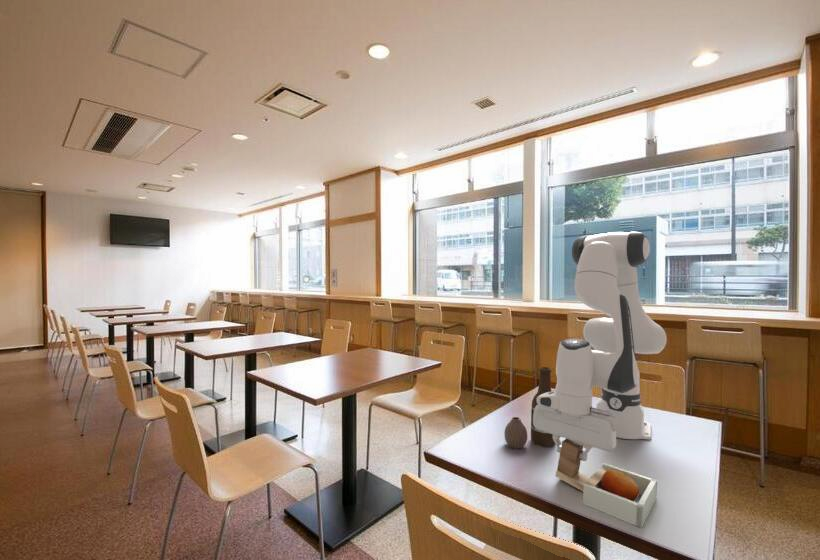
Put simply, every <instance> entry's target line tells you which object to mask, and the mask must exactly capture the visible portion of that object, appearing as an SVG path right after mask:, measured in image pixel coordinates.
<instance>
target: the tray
mask: <svg viewBox="0 0 820 560" xmlns="http://www.w3.org/2000/svg"><path fill="white" fill-rule="evenodd" d="M601 466H602V467H601V468H602V469H604V470H617V471H619V472H621V473H623V474H625V475H626V476H628V477H630V478H631V479H632V480H633V481H634V482H635V483H636V484H637V486H638V489H639V495H640V496H641V497H640V498H639V501H638V502H636V501H635V500H634V501H631V500H628V499H626V498H623V497H620V496H618V495H615V494H612V493H610V492H607V491H604V490H602V489H599V488H596V487H594V486H591V485H588V484H586V483H585V484H584V489H583V491H582V492H583V495H582V504H583V505H585V506H587V507H589V508H592V509H595V510H597V511H599V512H602V513H603V514H607V515H609V516H611V517H614V518H617V519H618V520H621V521H624V522H626V523H628V524H631V525H633V526H636V527H638V528H643V525H644V523H645V521H646V520H647V519H648V516H649V514H650V513H651V510H652V508H653V507H654V504H655V502H656V501H657V491H658V490H657V488H658V480H657V479H654V478H651V477H648V476H645V475H641V474H639V473H636V472H632V471H630V470H627V469H624V468H622V467H617V466H614V465H612V464H609V463H606V462H603V463H602V465H601ZM639 495H638V496H639Z"/></svg>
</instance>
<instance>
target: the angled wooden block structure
mask: <svg viewBox="0 0 820 560" xmlns="http://www.w3.org/2000/svg"><path fill="white" fill-rule="evenodd" d="M561 443H562V445H561V451H560V453H559V456H558V457H559V458H558V462H557V468H556V470H555V477H556V478H557V479H559V480H561V481H563V482H565V483H567V484H569V485H570V486H572V487H573V488H575V489H578V490H579V491H582V492H583V489H584V484H585V483H586V484H588V485H591V486H594V487H596V488H599V489H602V487H601V479H602V476H603V474H604V473H605V472H606V470H604V469H602V467H599V468H598V469H597V470H596V471H595V472H594V473H593V474H592V475H591V476H588V475H585V474H583V473H582V472H581V471H580V467H581V461H582V460H580V459H579V457H580V456H579V453H580V452H581V451H584V444H582V443H579V442H576V441H573V440H569V439H566V438H564V439H563V440H562V441H561Z"/></svg>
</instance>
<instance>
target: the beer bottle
mask: <svg viewBox="0 0 820 560" xmlns="http://www.w3.org/2000/svg"><path fill="white" fill-rule="evenodd" d="M538 371H539V379H538V388H537V392H536V393H535V395H534V396H533V398H532V400H531V411H530V412H531V413H530V414H531V416H530V440H531V442H532V443H533V442H534V443H533V444H534V445H536V444H537V446H539V445H540V446H539V447H542V446H543V447H542V448H553V446H556V444H555V442H554V440H553V434H550V433H547V432H544V431H541V430H537V429H535V427H534V425H533V414H534V409H535V407H536V405H538V404H537V397H538V396H540V395H541V394H544V393H546V392H552V378H551V376H552V375H551V373H552V368H550V367H547V366H542V367H539V369H538Z"/></svg>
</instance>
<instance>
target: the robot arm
mask: <svg viewBox="0 0 820 560" xmlns="http://www.w3.org/2000/svg"><path fill="white" fill-rule="evenodd" d="M650 246H651V245H650V242H649V239H648V236H647V235H645V233H643V232H641V231H640V232H639V231H633V230H631V231H629V232H628V231H627V232H626V231H625V232H624V231H615V232H614V231H611V232H607V233H606V232H605V233H598V234H592V235H588V234H587V235H586V234H585V235H583V236H579V237H577V238H576V239H575V240H574V241H573V243H572V247H571V256H572V260H573V263H574V264H576V266H577V267H576V272H575V277H574V294H575V296H576V297H577V299H578V300H579V301H581V303H583V305H585V306H587V307H588V308H590V309H593V310H595V311H597V312H599V313H602V314H604V315H606V316H607V317H597V318H596V317H593V318H589V319H588V320H587V321H586V323H585V324H584V326H583V331H582V332H583V333H582V334H583V337H584V339H581V338H566V339H564V340H562V341H560V342H559V345H558V349H557V353H556V361H555V363H556V364H555V375H556V385H555V389H554V391H551V392H546V393H544V394H541V395H540V396H538V397H537V404H538V405H536V407H535V409H534V414H533V425H534V427H535V429H537V430H541V431H544V432H547V433H550V434H553V440H554V442H555V446H556V452H557V453H559V454H560V451H561V445H562V441H561V438H563V439H569V440H573V441H576V442H579V443H582V444H584V446H583V449H585V450H583V451H581V452H580V453H579V456H580V457H579V459H580V460H581V461H583V462H586V461H587V460H588V453H589V452H590V451H591V449H592V448H595V449H597V450H598V449H599V450H602V451H605V452H609V453H610V452H611V451H613V450H614V449H615V448H616V446H617V438H618V439H625V440H651V439H652V424H651V422H648V421H647V420H645V410H644V408H643V406H642V404H641V403H642V395H641V390H640V384H641V383H640V376H641V374H640V373H641V372H640V371H639V368H638V363H637V360H636V359H637V358H636V354H639V355H640V354H641V355H655V354H656V355H657V354H659V353H661V352H662V351H663V350H664V349H665V348H666V344H667V339H668V338H667V333H666V331H665V330H664V328H663V327H662V326H661V325H660V324H658V323H656V322H655V321H654V320H653V319H652V318H651V317H650V316H649V315H648V313H646V311H645V309H644V308H643V306H642V303H641V298H640V293H639V283H638V282H639V279H638V269H637V267H639V266H641V265H643V264H645V262H646V261H648V257H649V254H650V251H651V247H650ZM592 387H597V388H601V390H600V397H601V399H600V400H599V401H597V402H596V407H593V389H592Z"/></svg>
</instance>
